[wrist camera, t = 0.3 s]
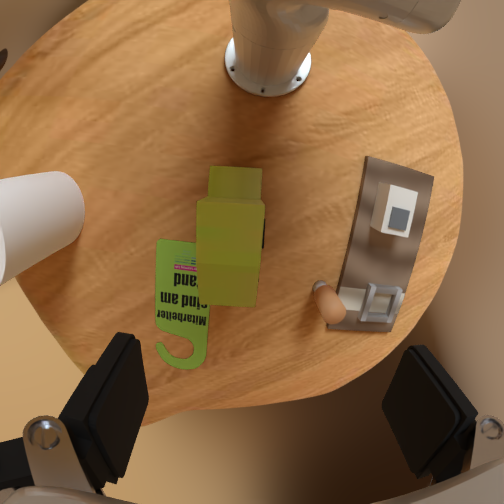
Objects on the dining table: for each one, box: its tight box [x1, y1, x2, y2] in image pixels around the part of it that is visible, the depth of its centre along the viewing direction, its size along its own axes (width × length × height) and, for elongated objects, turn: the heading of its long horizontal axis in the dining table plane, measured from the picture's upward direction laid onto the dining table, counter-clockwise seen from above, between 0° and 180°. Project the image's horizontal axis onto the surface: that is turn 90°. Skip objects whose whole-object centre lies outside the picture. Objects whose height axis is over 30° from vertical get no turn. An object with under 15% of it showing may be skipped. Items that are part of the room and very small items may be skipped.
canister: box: [0, 171, 85, 286], centre depth 33 cm, size 14×14×20 cm
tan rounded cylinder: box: [313, 280, 346, 324], centre depth 43 cm, size 3×3×9 cm
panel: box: [327, 156, 434, 332], centre depth 44 cm, size 29×13×3 cm, turn 171°
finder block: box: [370, 182, 418, 238], centre depth 40 cm, size 7×5×4 cm
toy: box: [196, 166, 265, 307], centre depth 34 cm, size 16×6×20 cm, turn 176°
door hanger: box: [155, 239, 210, 369], centre depth 48 cm, size 9×1×25 cm
